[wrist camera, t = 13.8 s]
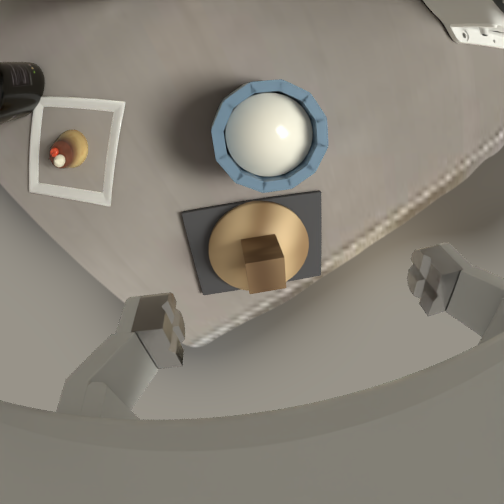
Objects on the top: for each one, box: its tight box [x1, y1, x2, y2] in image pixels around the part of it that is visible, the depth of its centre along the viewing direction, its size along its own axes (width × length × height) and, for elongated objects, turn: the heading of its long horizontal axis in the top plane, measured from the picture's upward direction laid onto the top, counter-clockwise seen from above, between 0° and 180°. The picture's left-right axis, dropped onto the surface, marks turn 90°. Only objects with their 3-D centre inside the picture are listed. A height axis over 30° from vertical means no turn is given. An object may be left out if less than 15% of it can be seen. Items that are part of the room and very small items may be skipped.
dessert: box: [29, 96, 125, 206], centre depth 25 cm, size 12×12×5 cm
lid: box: [209, 201, 309, 294], centre depth 33 cm, size 12×12×6 cm
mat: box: [182, 191, 321, 295], centre depth 35 cm, size 16×12×1 cm
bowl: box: [211, 79, 328, 193], centre depth 26 cm, size 10×10×6 cm
